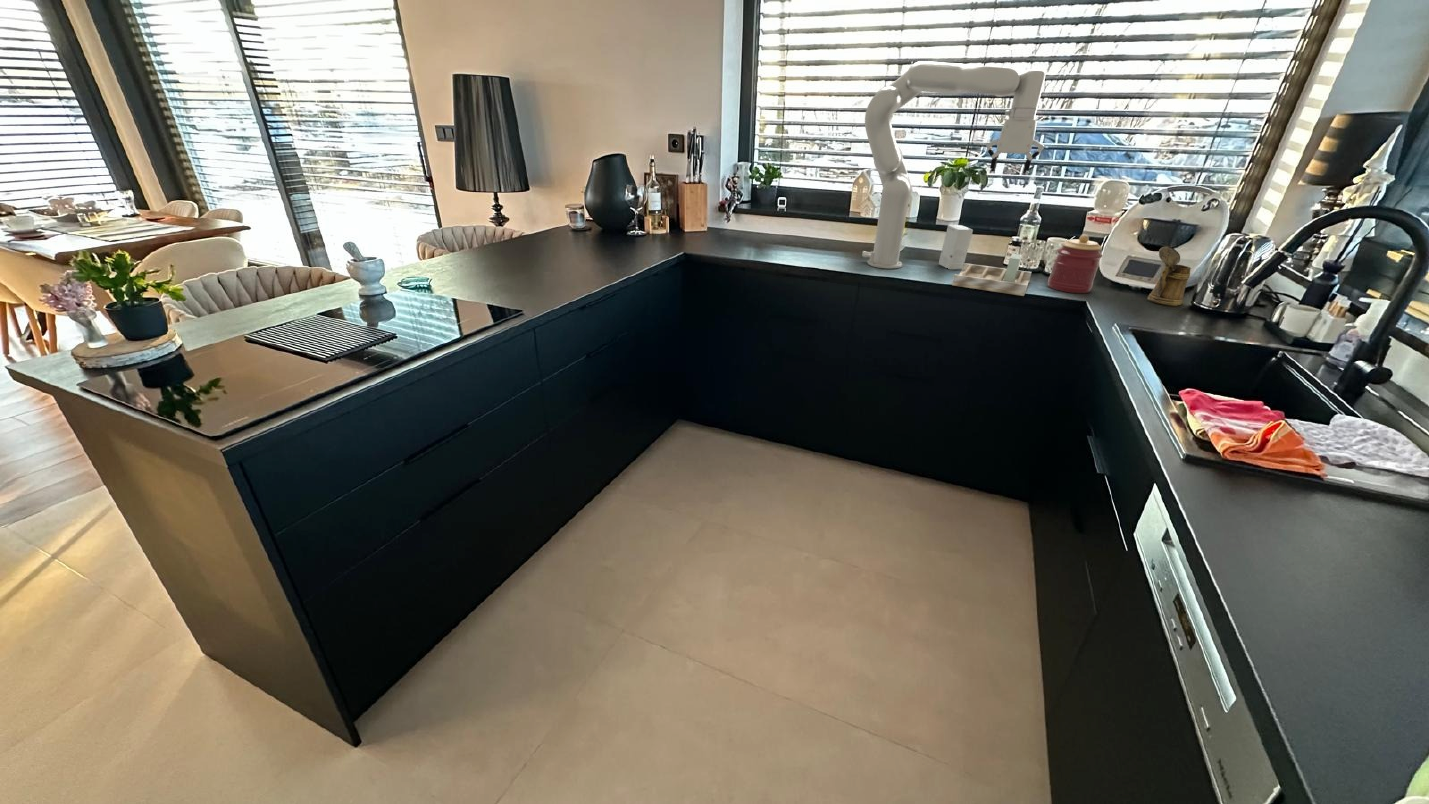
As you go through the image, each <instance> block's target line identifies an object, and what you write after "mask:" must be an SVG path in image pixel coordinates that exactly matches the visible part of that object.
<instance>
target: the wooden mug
mask: <svg viewBox="0 0 1429 804" xmlns="http://www.w3.org/2000/svg"><path fill="white" fill-rule="evenodd" d="M1158 255H1159V259H1160V260H1161V261H1162V262H1163V263H1164V266H1165V267H1164V268H1163V270H1162V271H1161V272H1160V273H1161V275H1160V277H1158V280H1157V281H1156V284H1155V286H1154V287H1153V289H1152V291H1151V292H1150V293H1149V295H1148V296H1147V298H1146V300H1148V301H1149V302H1150V303H1154V304H1158V305H1161V306H1162V305H1164V306H1169V307H1170V306H1171V307H1178V305H1180V306H1181V305H1183V301H1184V298H1183V297H1184V295H1185V291H1186V288H1187V287H1186V286H1187V283H1188V280H1189V278H1190V277H1191V270H1192V268H1191V267H1190V266H1188V265H1187V266H1186V265H1183V264H1179V263H1180V262H1181V254H1180V253H1179V251H1177V250H1176V249H1175V248H1174V247H1172V246H1170V245H1165V246H1162V247H1160V249H1159V250H1158Z"/></svg>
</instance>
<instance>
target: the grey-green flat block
mask: <svg viewBox="0 0 1429 804" xmlns="http://www.w3.org/2000/svg"><path fill="white" fill-rule="evenodd" d="M1022 258H1023V254H1018V253H1011V255H1010V257H1009V258H1008V263H1007V268H1006V269H1007V271H1006V274H1005V278H1004V281H1006V282H1013V283H1014V282H1015V280H1016V276H1017V272H1018V270H1019V267H1020V264H1021V260H1022Z"/></svg>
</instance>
